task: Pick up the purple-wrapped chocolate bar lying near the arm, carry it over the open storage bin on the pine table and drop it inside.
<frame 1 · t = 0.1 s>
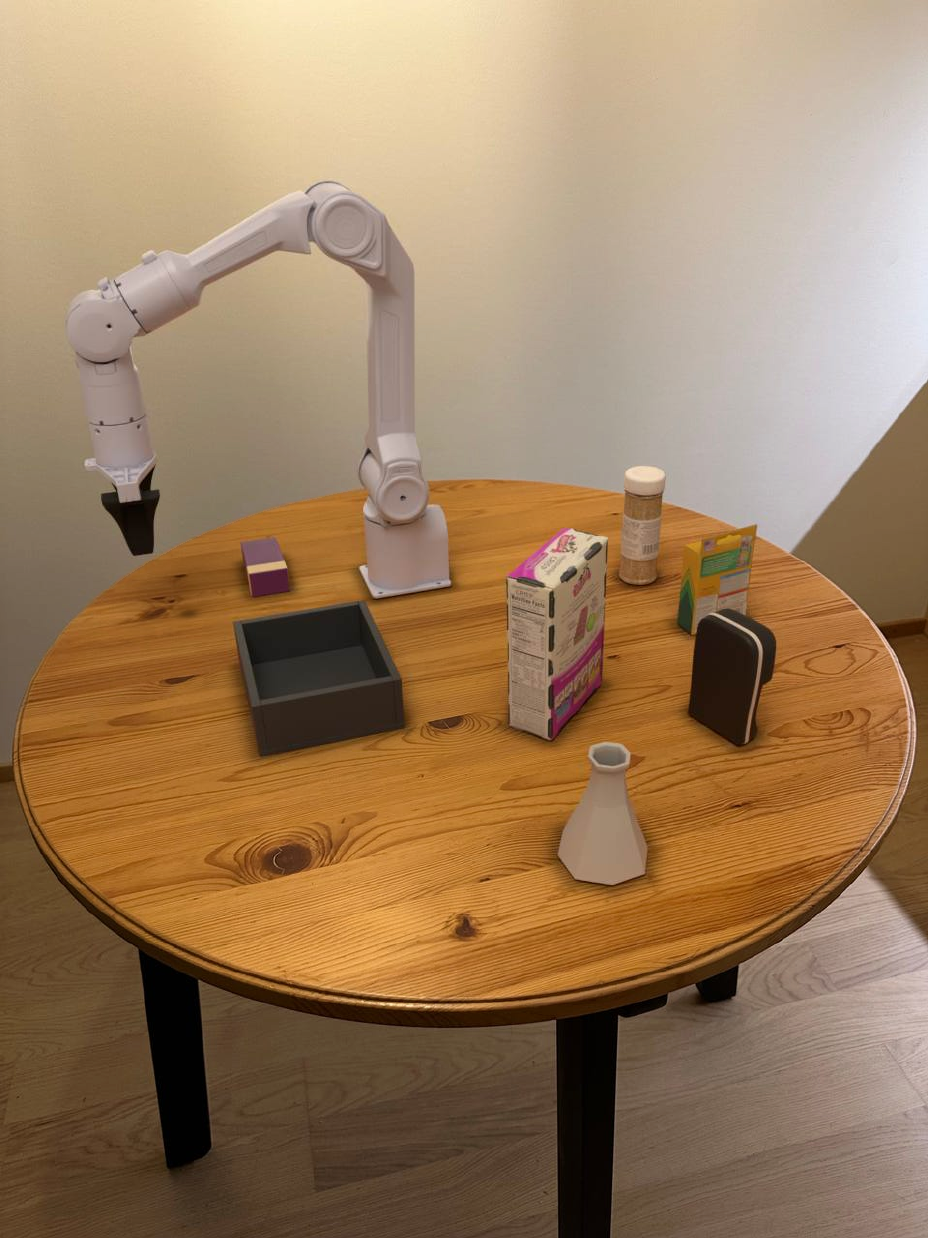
hand: (141, 538, 107), 10 cm above the table, tool pointing down, fingers open, 7 cm apart
open storage bin: (318, 696, 98), on the table
crayon box: (710, 623, 109), on the table
candy bar box: (554, 707, 96), on the table
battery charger: (725, 725, 93), on the table
flask: (602, 856, 79), on the table
chocolate bar: (266, 577, 120), on the table
spice jar: (637, 579, 119), on the table
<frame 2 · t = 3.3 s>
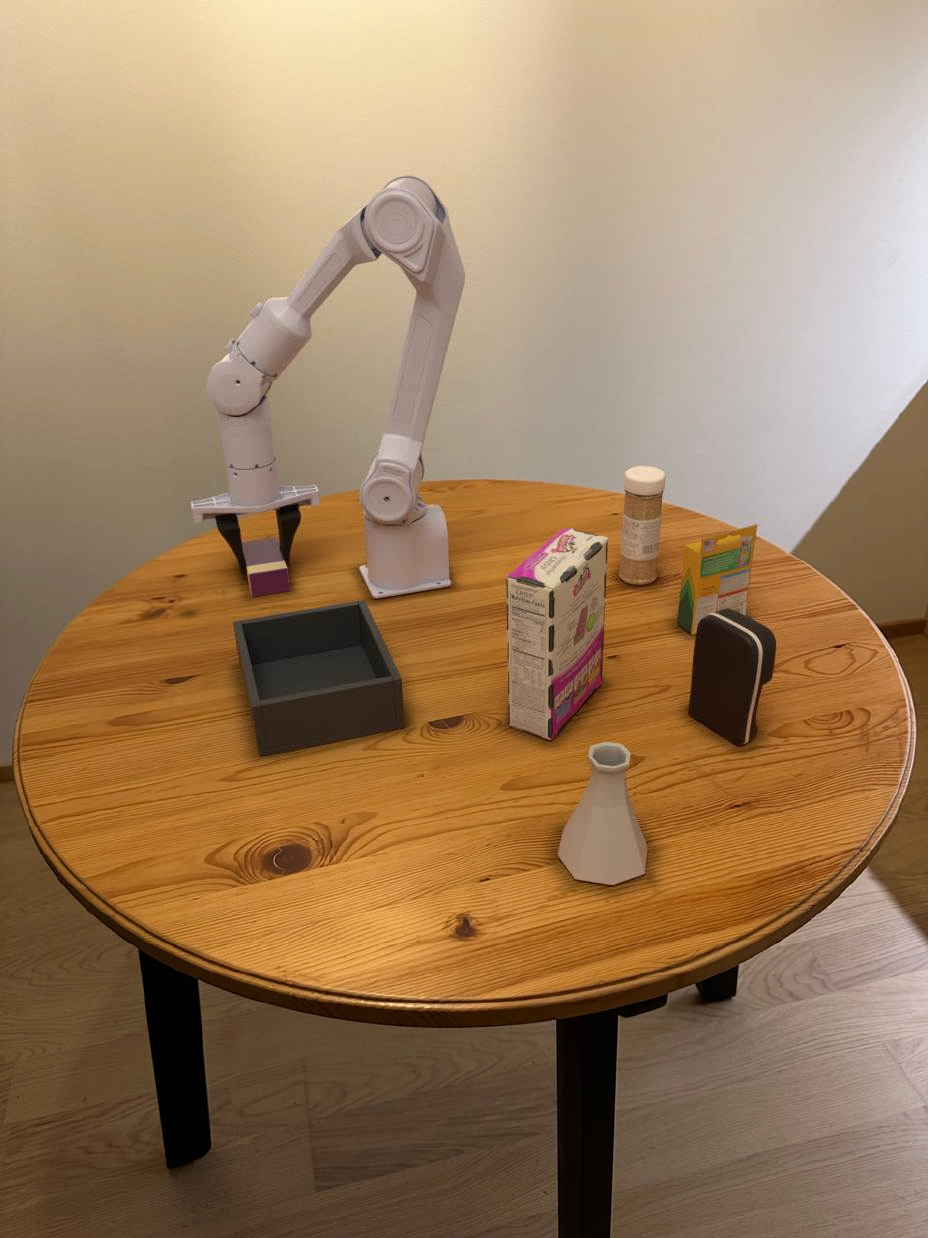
hand: (264, 566, 120), 1 cm above the table, tool pointing down, fingers closed on chocolate bar, 4 cm apart
chocolate bar: (266, 577, 120), on the table, touching gripper
everything else where it was.
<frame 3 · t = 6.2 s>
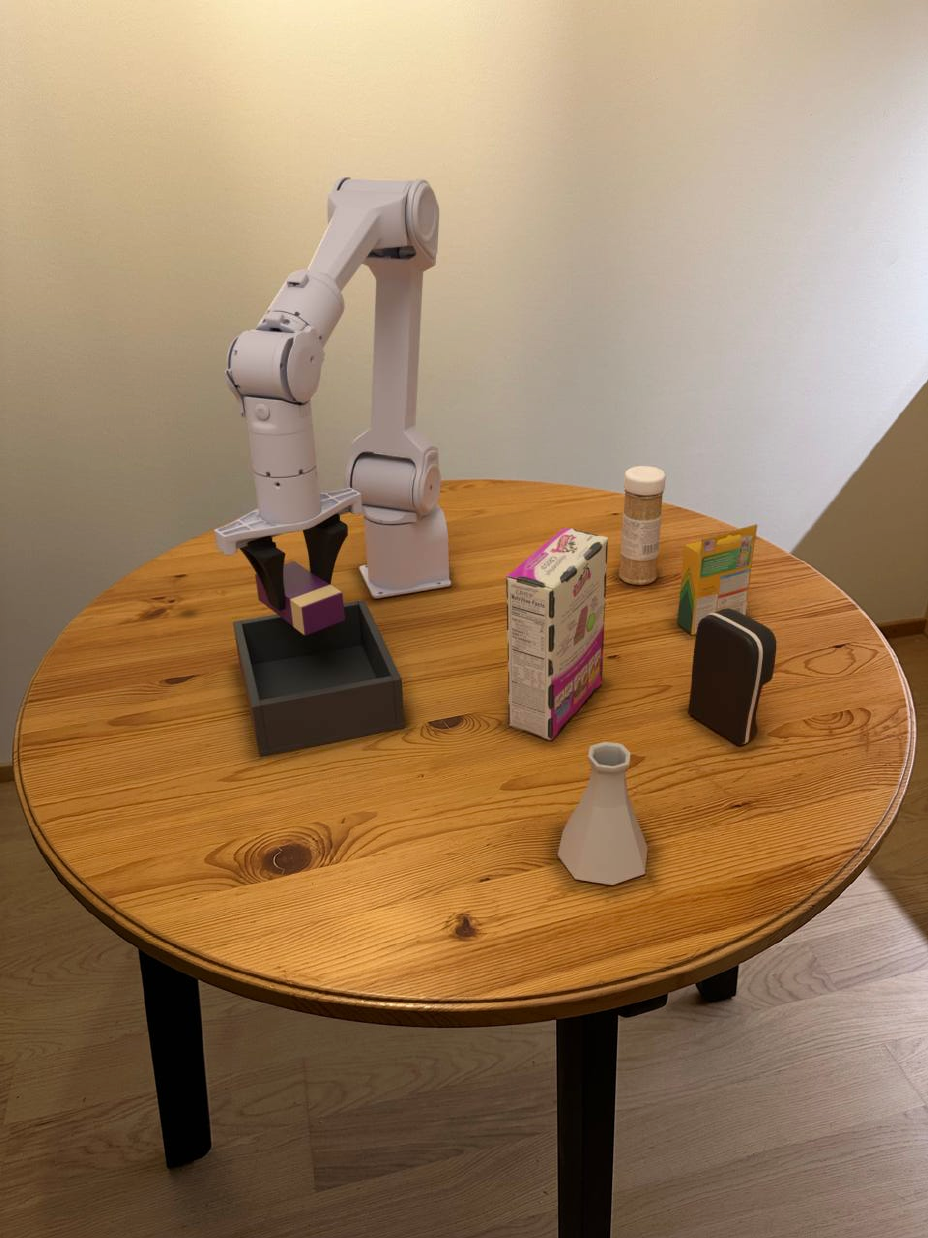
hand: (300, 597, 97), 9 cm above the table, tool pointing down, fingers closed on chocolate bar, 4 cm apart
chocolate bar: (301, 610, 97), point 8 cm above the table, touching gripper
everything else where it was.
when the fingers open (3 cm above the table, at t = 8.9 s): chocolate bar stays where it is, resting on open storage bin.
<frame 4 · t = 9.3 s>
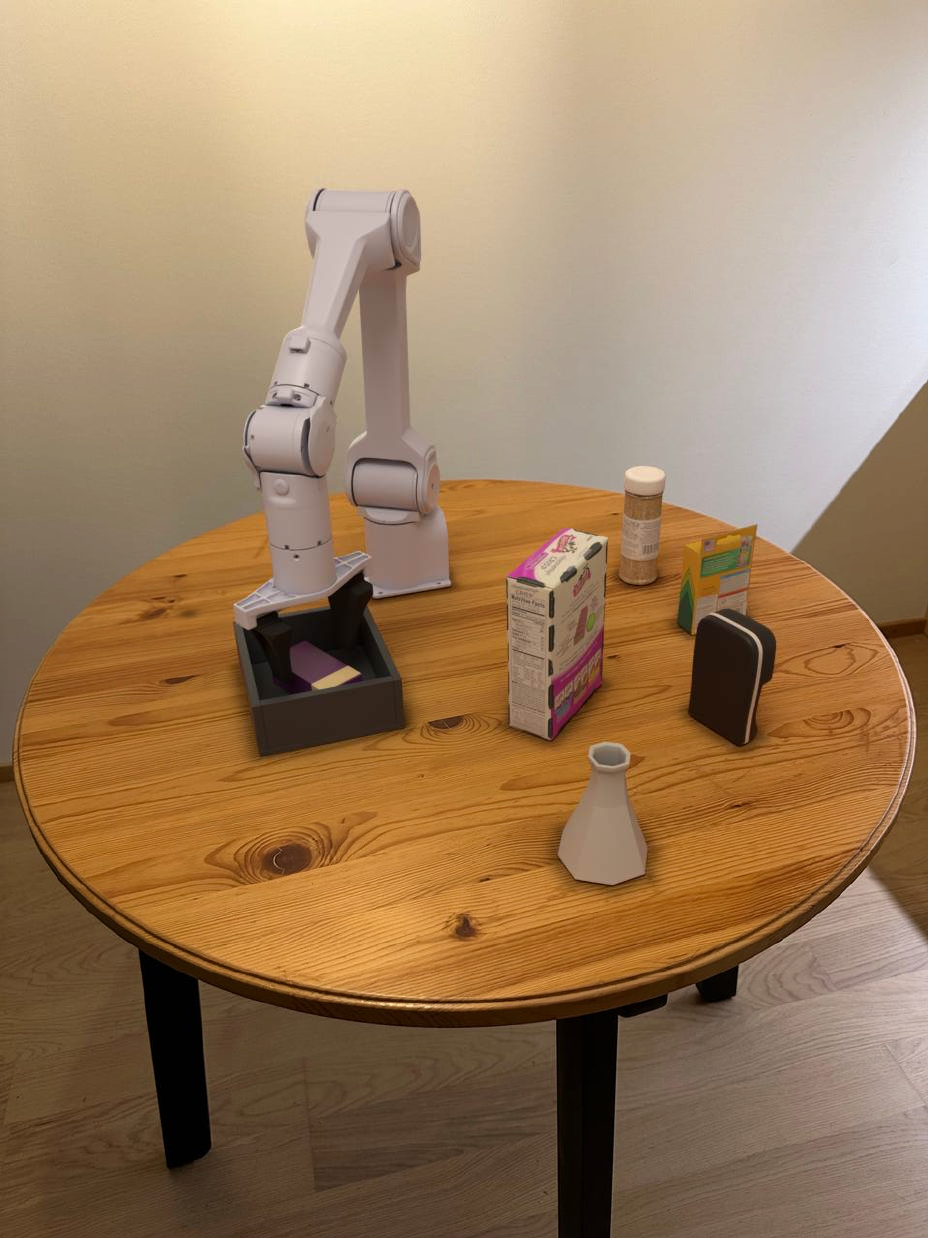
hand: (314, 663, 96), 4 cm above the table, tool pointing down, fingers open, 7 cm apart
chocolate bar: (317, 691, 98), point 1 cm above the table, touching open storage bin
everything else where it was.
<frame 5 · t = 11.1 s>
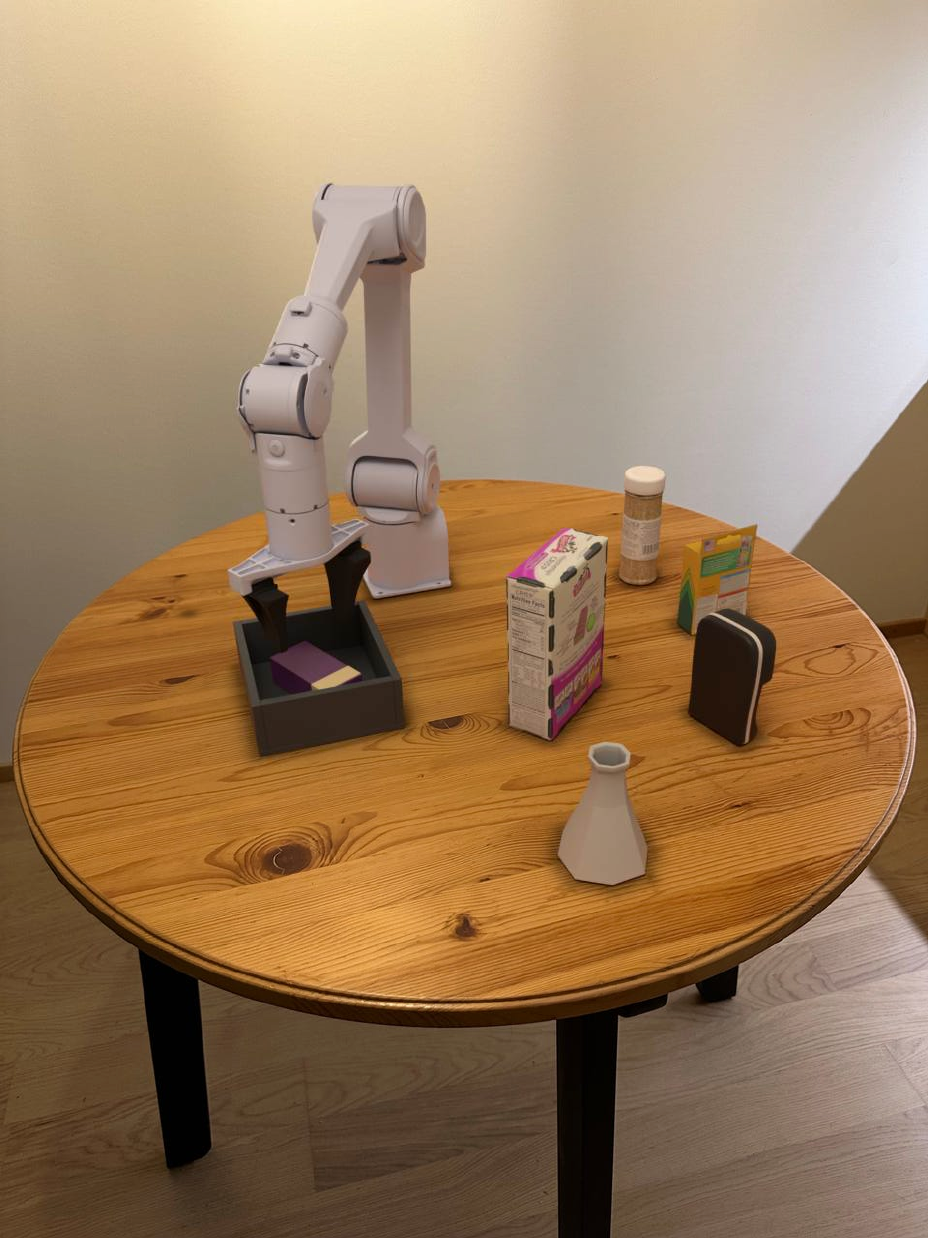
hand: (311, 632, 95), 7 cm above the table, tool pointing down, fingers open, 7 cm apart
nothing on the table moved.
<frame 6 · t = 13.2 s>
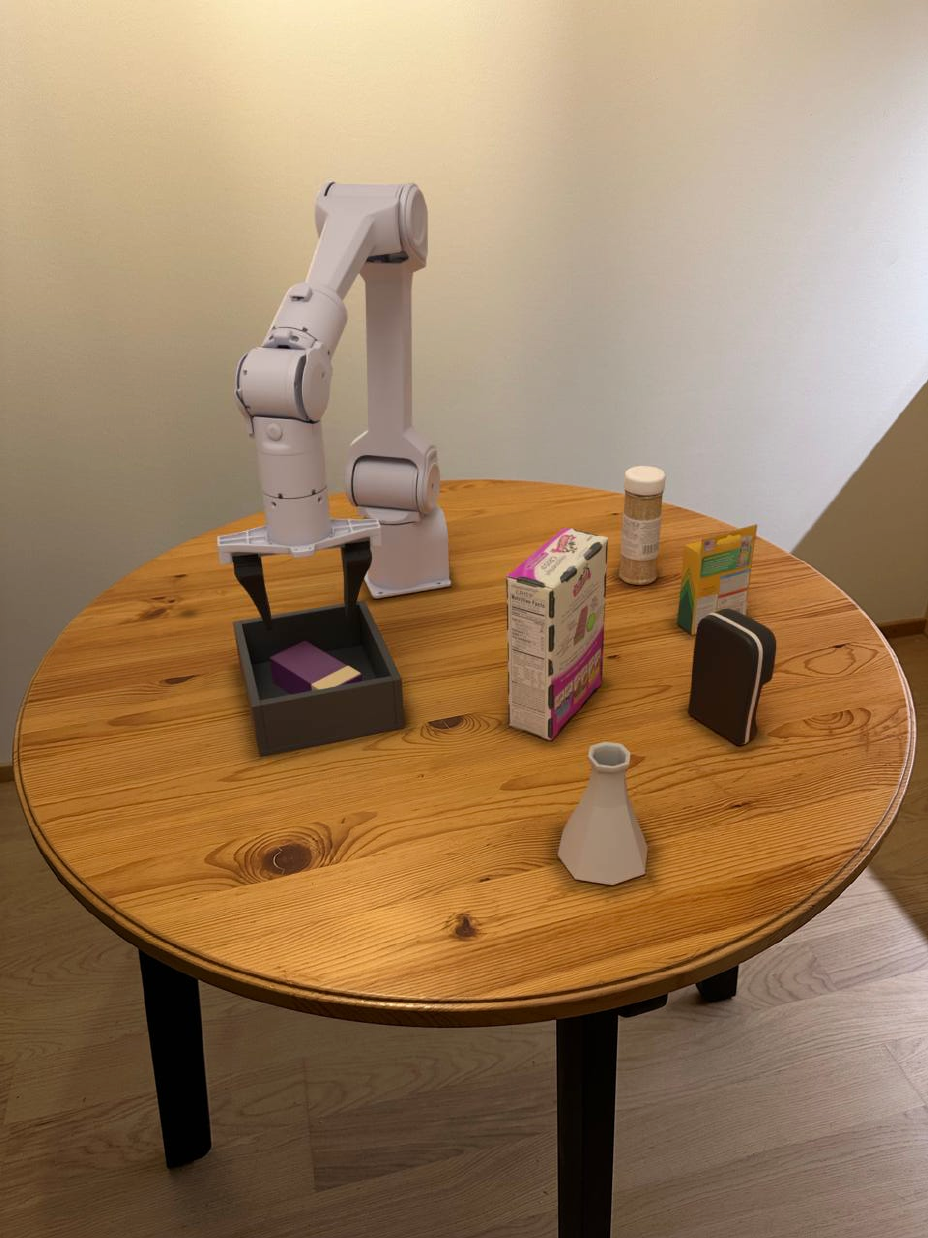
hand: (309, 619, 94), 9 cm above the table, tool pointing down, fingers open, 7 cm apart
nothing on the table moved.
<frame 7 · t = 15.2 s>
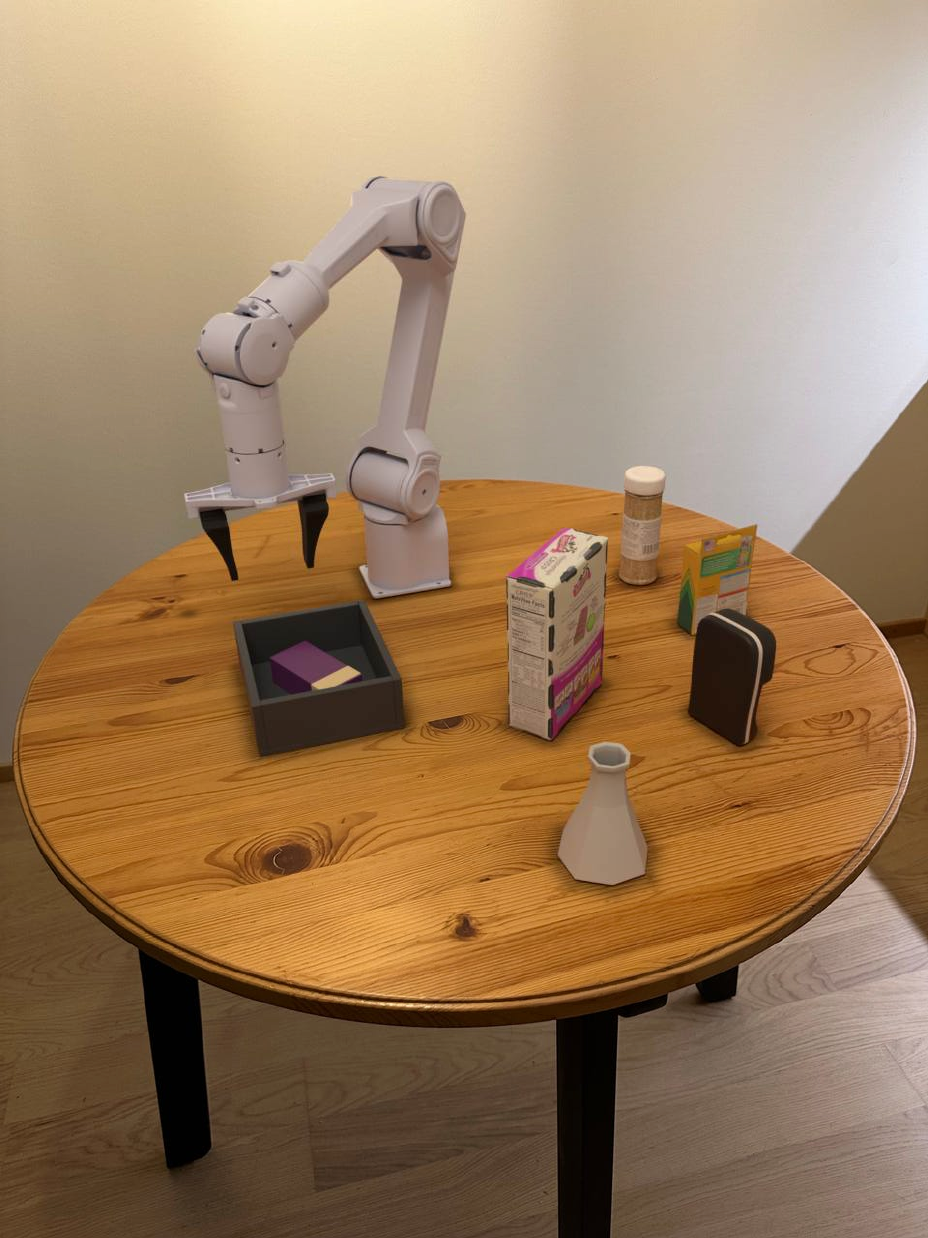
hand: (271, 570, 102), 9 cm above the table, tool pointing down, fingers open, 7 cm apart
nothing on the table moved.
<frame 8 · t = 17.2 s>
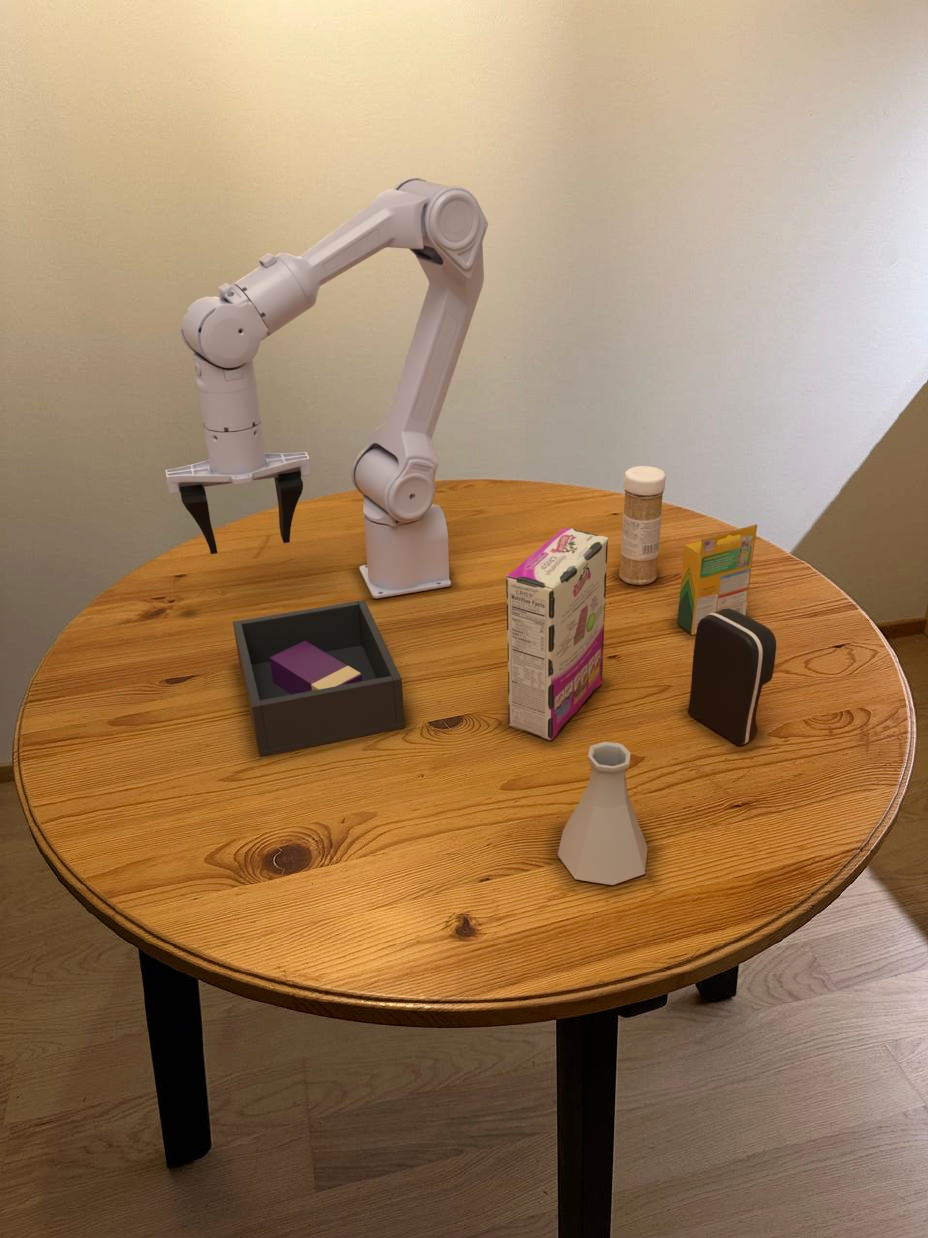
hand: (249, 544, 107), 9 cm above the table, tool pointing down, fingers open, 7 cm apart
nothing on the table moved.
at the end: chocolate bar inside the target area in the open storage bin (0.0 cm from its centre), point 0.6 cm above the open storage bin's base; the gripper is holding nothing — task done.
